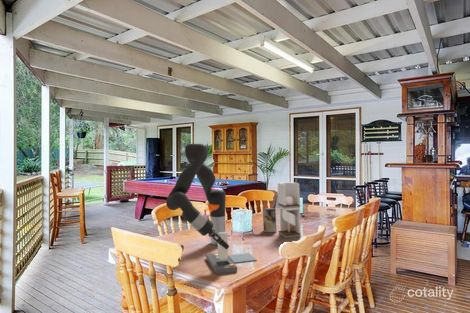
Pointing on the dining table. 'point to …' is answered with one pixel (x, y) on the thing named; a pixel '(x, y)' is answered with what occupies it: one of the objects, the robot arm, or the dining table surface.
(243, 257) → the mat
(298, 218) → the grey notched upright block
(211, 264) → the power strip
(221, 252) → the white tall rectangular block
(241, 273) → the dining table surface
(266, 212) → the coffee box
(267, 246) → the dining table surface
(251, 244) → the dining table surface
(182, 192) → the robot arm
